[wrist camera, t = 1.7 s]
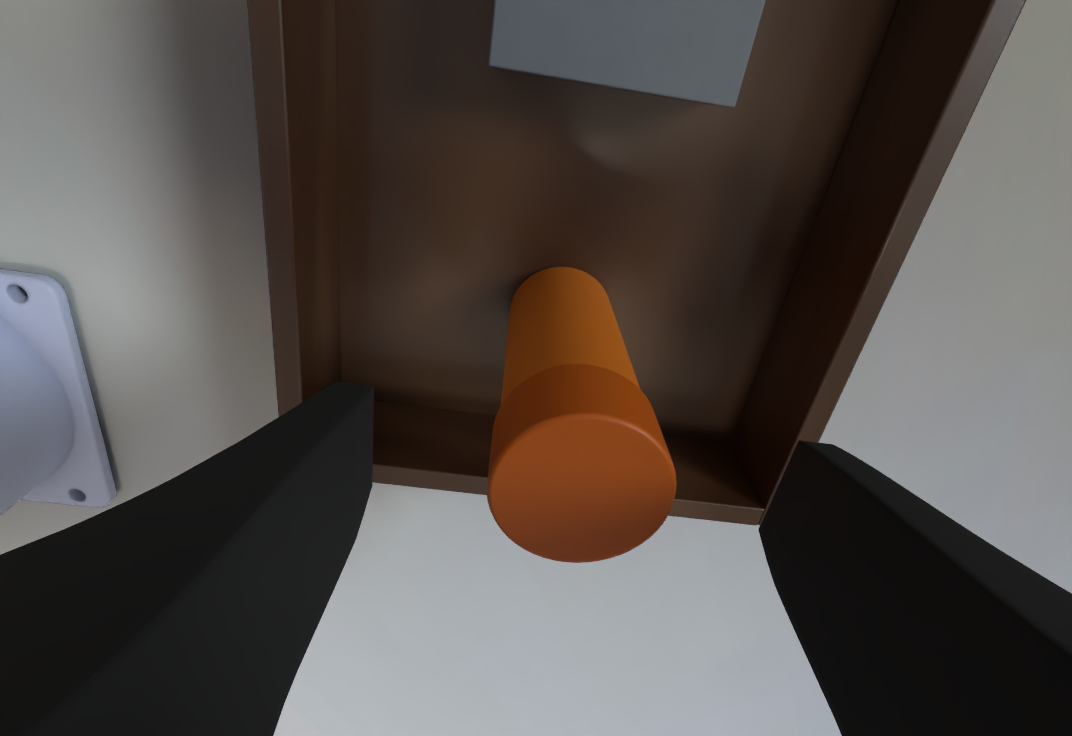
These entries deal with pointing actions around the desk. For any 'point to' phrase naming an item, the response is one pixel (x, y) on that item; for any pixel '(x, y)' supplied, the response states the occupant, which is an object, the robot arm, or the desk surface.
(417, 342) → the box
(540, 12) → the eraser
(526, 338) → the glue stick
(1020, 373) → the desk surface
